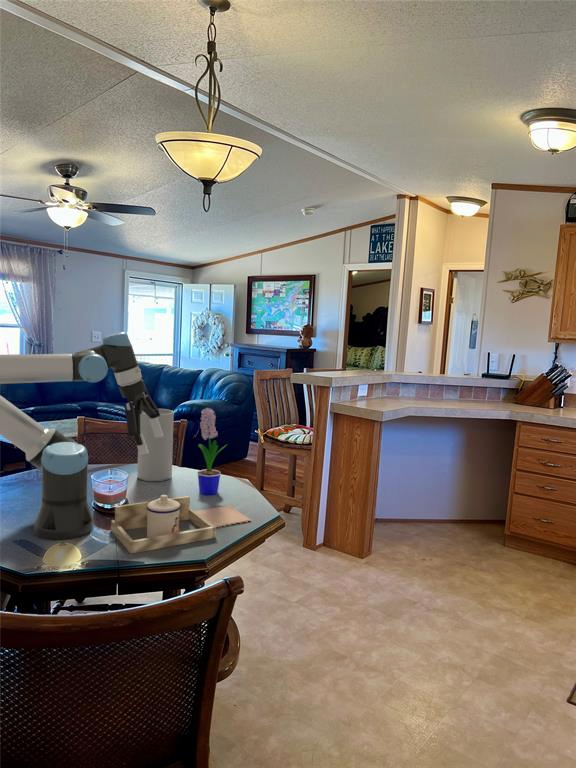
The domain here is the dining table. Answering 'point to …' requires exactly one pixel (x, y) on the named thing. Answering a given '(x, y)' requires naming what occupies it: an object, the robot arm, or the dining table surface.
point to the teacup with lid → (162, 517)
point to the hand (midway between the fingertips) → (152, 445)
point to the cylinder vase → (156, 448)
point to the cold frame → (137, 518)
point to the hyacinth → (208, 455)
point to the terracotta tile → (223, 516)
